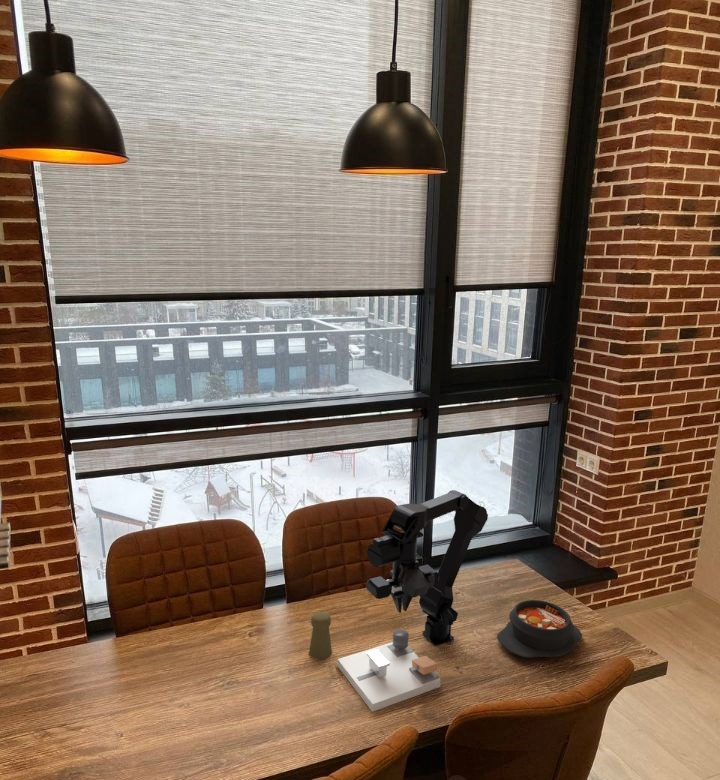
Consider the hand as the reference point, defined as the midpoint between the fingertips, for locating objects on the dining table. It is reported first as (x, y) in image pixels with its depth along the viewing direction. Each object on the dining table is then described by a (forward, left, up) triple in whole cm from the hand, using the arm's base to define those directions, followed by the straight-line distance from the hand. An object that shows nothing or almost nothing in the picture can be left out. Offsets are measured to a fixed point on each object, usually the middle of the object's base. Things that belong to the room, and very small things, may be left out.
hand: (401, 611), depth 159 cm
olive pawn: (+18, -11, -13) cm, 25 cm away
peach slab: (0, +11, -8) cm, 14 cm away
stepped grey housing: (+10, +5, -11) cm, 16 cm away
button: (0, 0, -10) cm, 10 cm away
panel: (+7, +5, -13) cm, 16 cm away
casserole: (-38, +11, -13) cm, 42 cm away
